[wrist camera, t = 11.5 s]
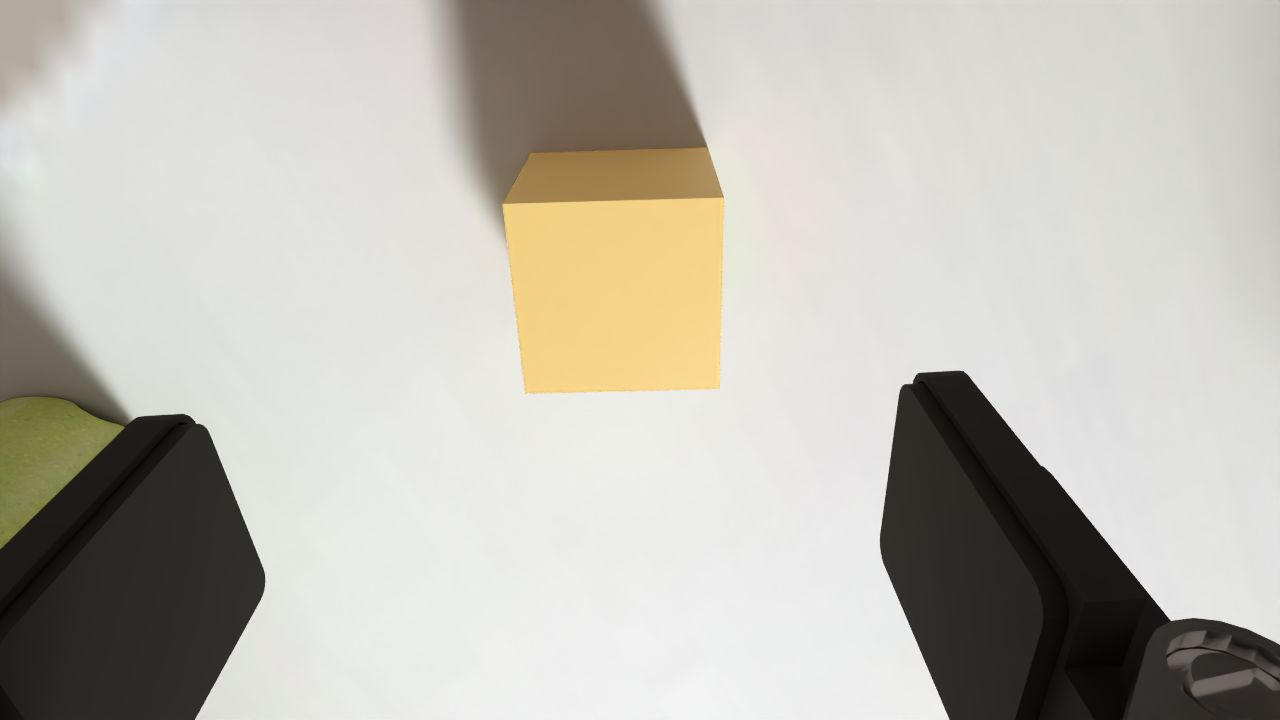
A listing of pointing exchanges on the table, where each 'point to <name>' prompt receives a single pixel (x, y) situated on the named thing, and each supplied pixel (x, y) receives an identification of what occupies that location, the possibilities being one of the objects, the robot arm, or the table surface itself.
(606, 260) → the block
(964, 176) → the table surface
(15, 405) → the plant pot
